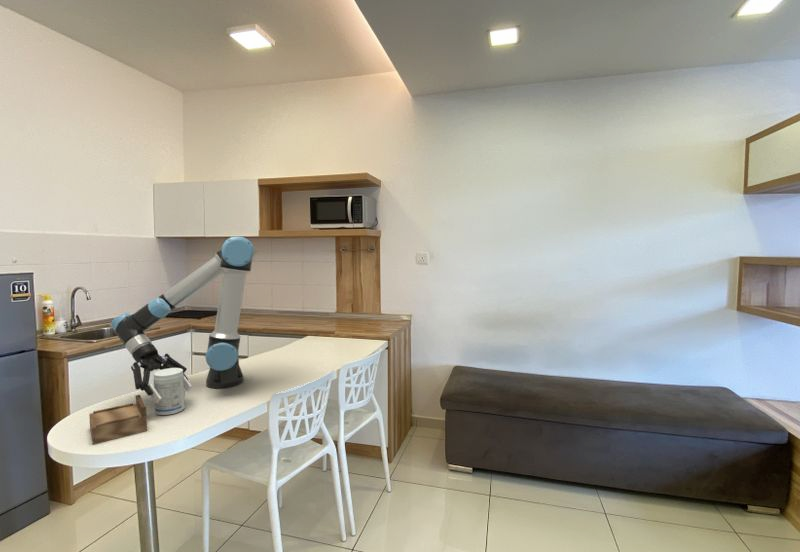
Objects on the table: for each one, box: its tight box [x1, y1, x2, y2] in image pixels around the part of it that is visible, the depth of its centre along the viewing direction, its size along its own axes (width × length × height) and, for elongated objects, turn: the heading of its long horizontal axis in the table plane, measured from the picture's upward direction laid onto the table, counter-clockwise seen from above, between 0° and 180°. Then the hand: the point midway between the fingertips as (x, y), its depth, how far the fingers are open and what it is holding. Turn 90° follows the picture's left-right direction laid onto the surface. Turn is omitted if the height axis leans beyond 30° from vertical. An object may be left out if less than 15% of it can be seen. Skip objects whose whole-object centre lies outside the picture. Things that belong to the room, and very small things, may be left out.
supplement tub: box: [153, 368, 186, 416], centre depth 144 cm, size 10×10×15 cm
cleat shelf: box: [88, 394, 148, 445], centre depth 129 cm, size 14×14×8 cm
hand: (174, 394), depth 143 cm, fingers open, 12 cm apart
